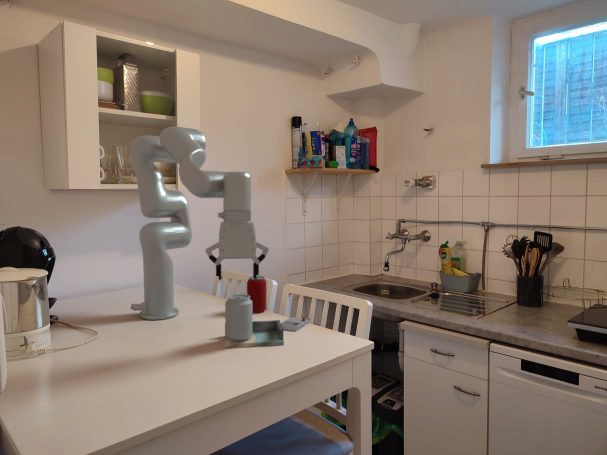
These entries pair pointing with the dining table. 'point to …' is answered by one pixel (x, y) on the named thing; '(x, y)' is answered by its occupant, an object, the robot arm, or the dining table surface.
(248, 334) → the can
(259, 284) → the beverage can
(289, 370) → the dining table surface
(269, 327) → the grey green tray
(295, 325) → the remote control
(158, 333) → the dining table surface
